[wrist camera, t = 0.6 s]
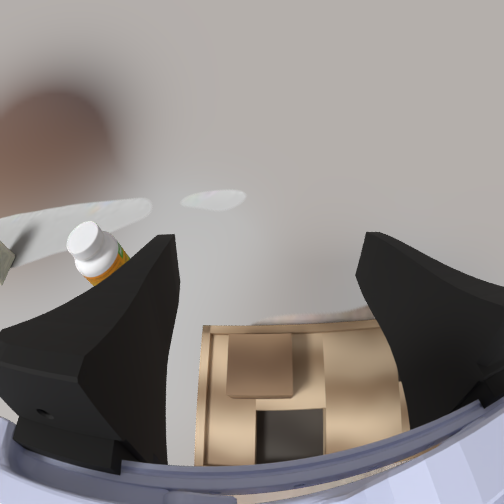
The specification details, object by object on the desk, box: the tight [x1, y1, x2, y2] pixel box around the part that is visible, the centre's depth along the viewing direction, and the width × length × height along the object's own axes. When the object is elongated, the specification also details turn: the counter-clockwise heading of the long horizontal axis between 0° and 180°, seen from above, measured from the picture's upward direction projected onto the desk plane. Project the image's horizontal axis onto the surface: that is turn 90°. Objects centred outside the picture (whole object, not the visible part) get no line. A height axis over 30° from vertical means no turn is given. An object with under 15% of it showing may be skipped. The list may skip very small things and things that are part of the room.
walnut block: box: [226, 333, 293, 399], centre depth 22 cm, size 5×5×4 cm
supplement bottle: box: [67, 221, 130, 286], centre depth 29 cm, size 5×5×10 cm
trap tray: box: [194, 319, 441, 466], centre depth 22 cm, size 14×28×3 cm, turn 89°
